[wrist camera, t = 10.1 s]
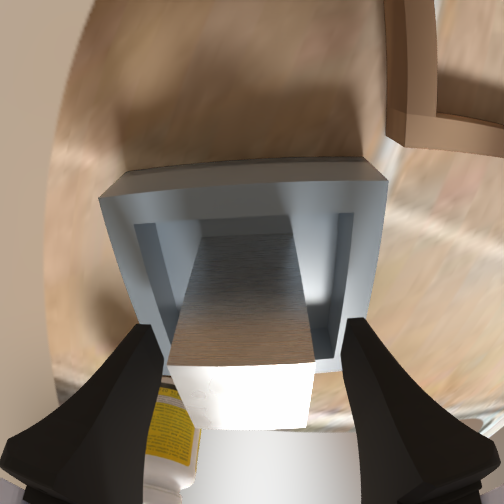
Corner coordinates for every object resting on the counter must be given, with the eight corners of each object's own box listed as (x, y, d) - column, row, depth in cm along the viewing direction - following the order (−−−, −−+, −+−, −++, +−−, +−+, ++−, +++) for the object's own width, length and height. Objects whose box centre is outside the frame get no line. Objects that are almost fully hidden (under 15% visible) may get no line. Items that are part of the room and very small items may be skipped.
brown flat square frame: (544, -19, 5) (566, -20, 4) (546, 158, 12) (568, 170, 10) (368, -95, 6) (382, -112, 4) (385, 135, 12) (404, 147, 10)
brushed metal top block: (293, 232, 14) (315, 362, 8) (292, 301, 16) (305, 427, 10) (201, 237, 14) (166, 365, 8) (213, 305, 16) (195, 428, 10)
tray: (363, 157, 13) (388, 180, 10) (343, 330, 18) (352, 369, 16) (126, 171, 13) (98, 198, 11) (171, 336, 19) (161, 375, 16)
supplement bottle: (126, 373, 21) (92, 489, 13) (192, 372, 21) (171, 504, 12) (154, 409, 24) (134, 510, 16) (213, 409, 24) (203, 520, 15)
